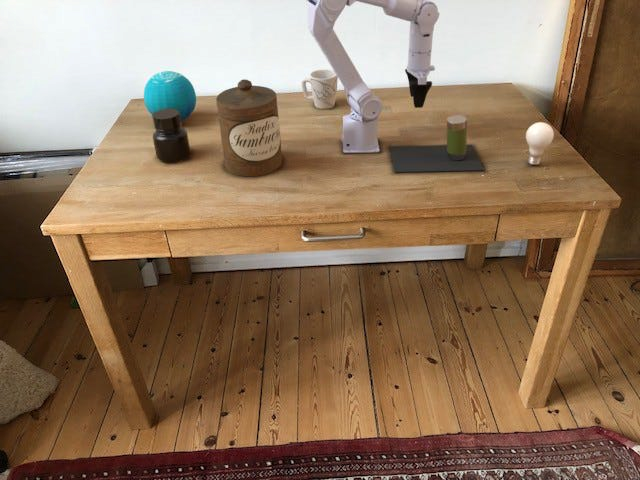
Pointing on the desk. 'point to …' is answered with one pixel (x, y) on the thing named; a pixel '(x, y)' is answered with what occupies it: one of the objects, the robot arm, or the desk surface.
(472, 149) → the mat
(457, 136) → the can
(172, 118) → the ink bottle
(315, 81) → the mug
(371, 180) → the desk surface
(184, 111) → the decorative orb
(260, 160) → the wooden container
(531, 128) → the lightbulb
